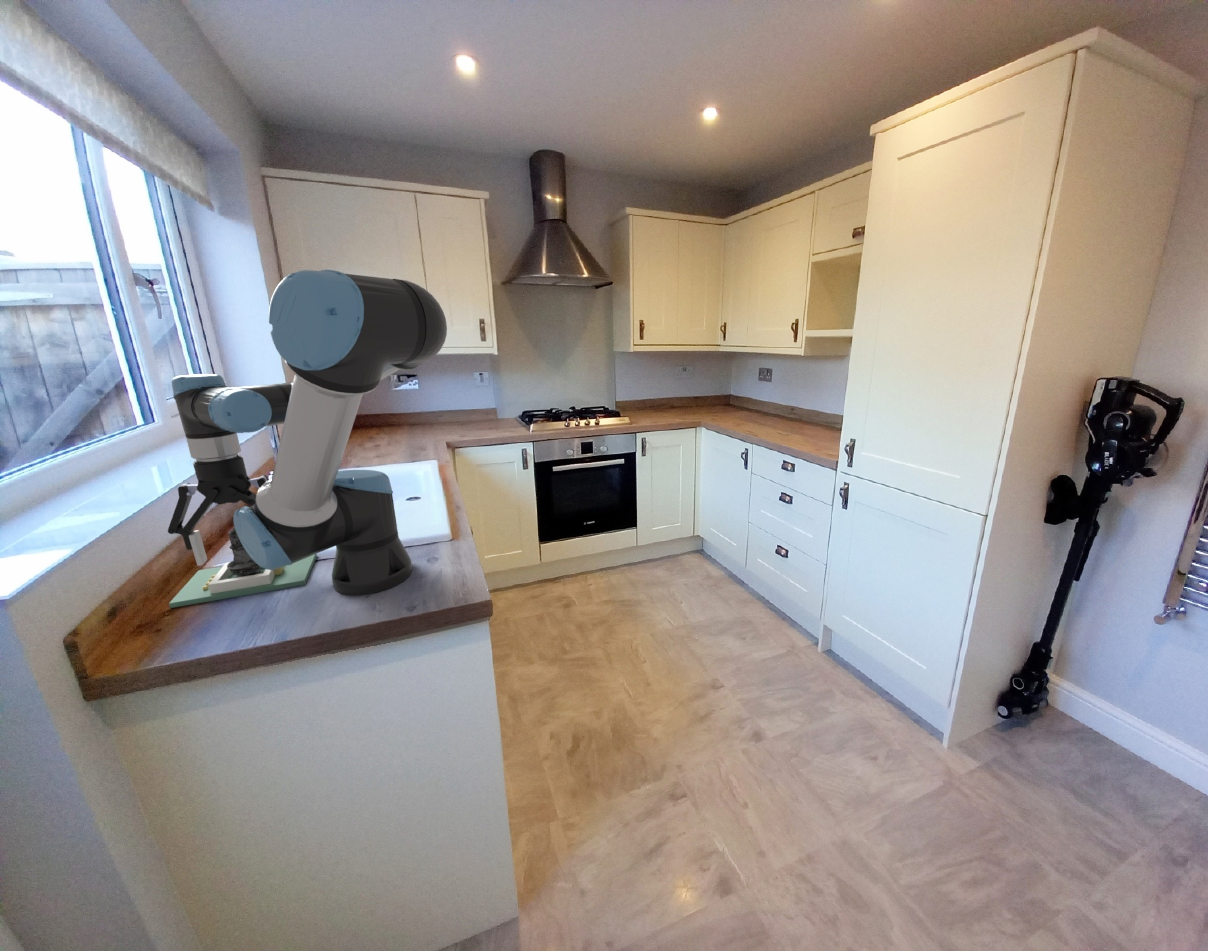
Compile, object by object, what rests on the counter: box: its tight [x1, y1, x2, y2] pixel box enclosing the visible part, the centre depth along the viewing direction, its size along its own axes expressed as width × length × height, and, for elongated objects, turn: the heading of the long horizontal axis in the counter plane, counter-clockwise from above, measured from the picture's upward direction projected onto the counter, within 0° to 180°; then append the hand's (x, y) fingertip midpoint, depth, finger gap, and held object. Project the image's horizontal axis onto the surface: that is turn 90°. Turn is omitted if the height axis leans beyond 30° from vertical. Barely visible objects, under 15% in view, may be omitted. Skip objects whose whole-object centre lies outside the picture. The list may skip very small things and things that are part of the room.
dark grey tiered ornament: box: [227, 525, 264, 578], centre depth 95 cm, size 6×6×12 cm
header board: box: [168, 553, 318, 609], centre depth 97 cm, size 22×14×3 cm, turn 112°
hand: (243, 556), depth 95 cm, fingers open, 13 cm apart
